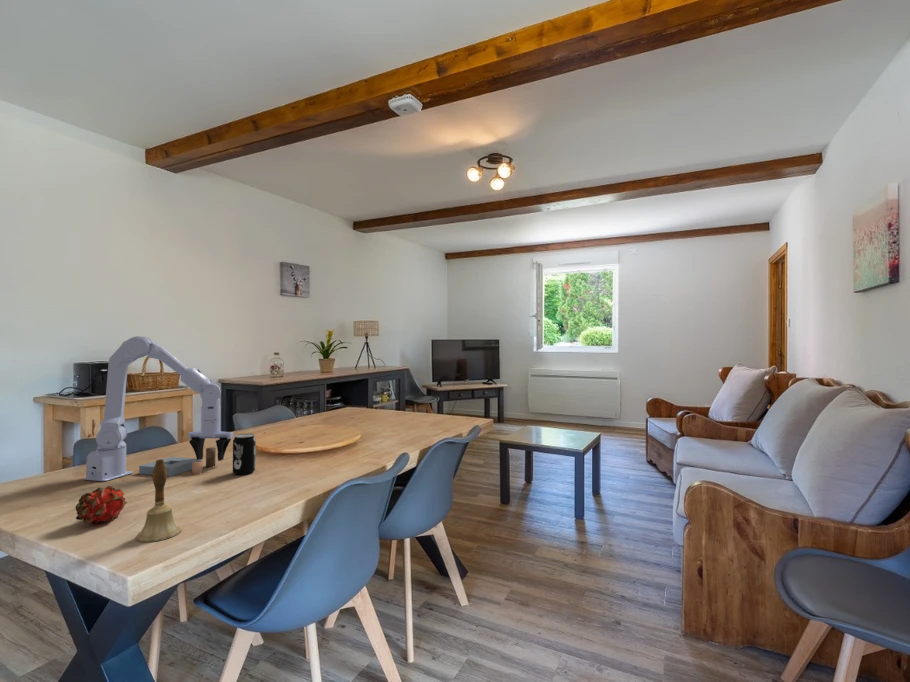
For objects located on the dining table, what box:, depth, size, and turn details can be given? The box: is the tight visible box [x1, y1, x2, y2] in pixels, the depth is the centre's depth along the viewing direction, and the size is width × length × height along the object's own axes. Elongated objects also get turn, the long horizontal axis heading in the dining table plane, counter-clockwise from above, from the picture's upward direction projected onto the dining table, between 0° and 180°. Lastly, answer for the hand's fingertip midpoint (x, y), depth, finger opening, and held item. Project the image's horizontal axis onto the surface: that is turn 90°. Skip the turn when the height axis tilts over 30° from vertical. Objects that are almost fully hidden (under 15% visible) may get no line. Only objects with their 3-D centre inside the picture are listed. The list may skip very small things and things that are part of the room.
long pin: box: [205, 447, 217, 468], centre depth 152 cm, size 3×3×6 cm
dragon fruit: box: [75, 485, 128, 526], centre depth 105 cm, size 8×8×12 cm
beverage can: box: [232, 433, 257, 476], centre depth 145 cm, size 7×7×12 cm
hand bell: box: [135, 458, 183, 543], centre depth 98 cm, size 8×8×16 cm
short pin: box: [191, 460, 203, 475], centre depth 144 cm, size 3×3×4 cm
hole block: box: [138, 456, 202, 477], centre depth 147 cm, size 12×12×2 cm
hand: (210, 459), depth 152 cm, fingers open, 6 cm apart
